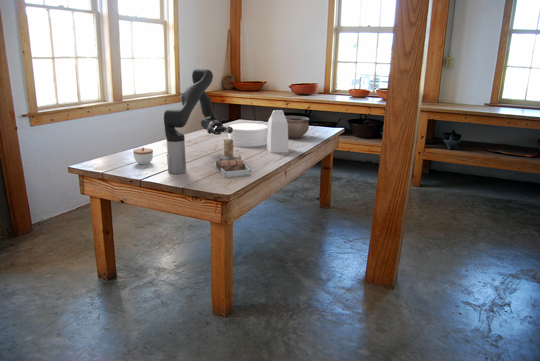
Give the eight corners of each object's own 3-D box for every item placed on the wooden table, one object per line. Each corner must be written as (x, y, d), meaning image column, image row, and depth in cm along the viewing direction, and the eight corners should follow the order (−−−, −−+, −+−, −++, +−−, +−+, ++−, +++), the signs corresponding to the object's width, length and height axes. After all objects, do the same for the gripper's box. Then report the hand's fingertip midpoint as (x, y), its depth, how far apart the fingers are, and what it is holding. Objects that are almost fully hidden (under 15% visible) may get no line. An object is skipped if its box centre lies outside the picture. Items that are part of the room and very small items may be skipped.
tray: (224, 177, 222) (224, 172, 221) (220, 173, 229) (220, 168, 228) (250, 175, 226) (250, 169, 225) (246, 171, 233) (246, 165, 233)
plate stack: (245, 137, 324) (245, 121, 321) (275, 141, 309) (276, 125, 305) (220, 143, 302) (219, 127, 299) (252, 148, 287) (251, 131, 284)
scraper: (219, 163, 233) (219, 141, 229) (217, 161, 238) (216, 139, 234) (241, 161, 237) (240, 140, 233) (238, 159, 242) (237, 138, 238)
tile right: (237, 164, 231) (237, 160, 231) (235, 162, 234) (235, 159, 234) (243, 163, 233) (243, 160, 232) (241, 162, 236) (241, 158, 235)
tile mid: (229, 165, 230) (229, 161, 229) (228, 163, 233) (228, 159, 232) (236, 164, 231) (236, 160, 231) (234, 163, 234) (234, 159, 234)
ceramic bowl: (277, 134, 333) (278, 115, 329) (305, 134, 336) (306, 115, 331) (281, 140, 312) (282, 119, 308) (311, 140, 315) (311, 119, 310)
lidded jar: (157, 162, 249) (156, 146, 246) (143, 166, 240) (142, 150, 238) (144, 160, 254) (143, 144, 252) (130, 164, 246) (128, 148, 243)
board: (221, 173, 229) (221, 166, 228) (216, 167, 240) (216, 160, 238) (245, 171, 233) (245, 164, 232) (238, 165, 244) (238, 159, 243)
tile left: (222, 165, 229) (222, 162, 228) (220, 164, 232) (220, 160, 231) (229, 165, 230) (228, 161, 229) (227, 163, 233) (227, 160, 232)
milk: (270, 152, 276) (270, 111, 268) (266, 148, 286) (267, 109, 279) (288, 151, 278) (289, 111, 270) (284, 148, 289) (285, 109, 281)
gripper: (203, 121, 255) (210, 126, 240) (227, 120, 260) (235, 125, 245) (204, 134, 257) (211, 139, 243) (227, 132, 262) (235, 138, 247)
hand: (223, 132), depth 244 cm, fingers open, 8 cm apart
